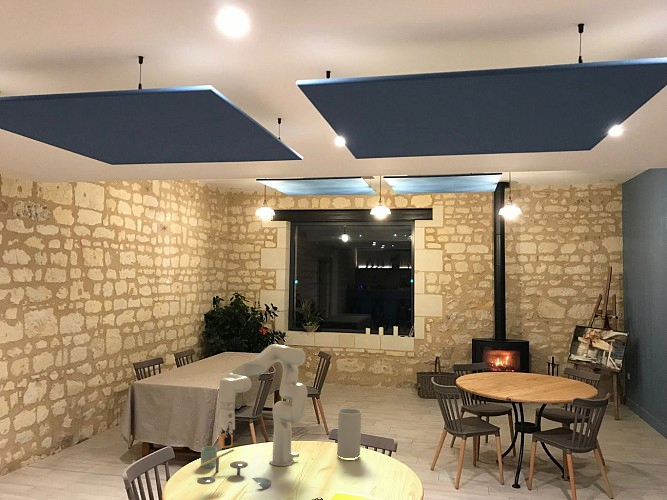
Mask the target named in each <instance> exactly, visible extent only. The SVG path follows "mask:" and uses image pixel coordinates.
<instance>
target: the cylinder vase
mask: <svg viewBox="0 0 667 500" xmlns="http://www.w3.org/2000/svg"><path fill="white" fill-rule="evenodd" d="M337 419H338V422H337V444H336V445H337V452H336V456H337V455H338V456H340V457H343V458H355V457H358V456H359V455H360V456H361V438H362V437H361V433H362V430H361V429H362V425H361V424H362V411H361V410H360V409H357V408H351V407H346V408H345V407H344V408H340V409H338V418H337Z"/></svg>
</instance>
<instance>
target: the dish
mask: <svg viewBox="0 0 667 500" xmlns="http://www.w3.org/2000/svg"><path fill="white" fill-rule="evenodd" d="M251 479H252V481H254V482H255V483H256V484H257V485H258V486H260V487H261V488H257V489H256V491H262V490H266V489H269V488H271V484H272V482H271V480H270V479H268V478H266V477H259V476H258V477H253V478H251Z"/></svg>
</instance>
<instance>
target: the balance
mask: <svg viewBox="0 0 667 500" xmlns="http://www.w3.org/2000/svg"><path fill="white" fill-rule="evenodd" d="M232 452H235V449H234V448H232V449H230V450H228V451H226V452H224V453H222V454H219V455H217V457H215V458H213V459H211V460H209V461H207V462H205V463H202V464H201V463H200V466H201V467H202V466H203V465H205V464H207V463H209V462H211V461H214V460H216V465H215V473H216V474H217V473H219V467H220V466H219V465H220V459H221V458H222V457H224V456H227V455H228V454H230V453H232ZM248 465H249V463H248V462H246V461H241V460H238V461H233V462H231V463H229V467H231V468H232V469H236V476H241V469H246V468H247V467H248ZM196 482H197V483H198V484H200V485H209V484H213V483H215V482H216V478H214V477H211V476H205V477H199V478H198V479H197V480H196Z"/></svg>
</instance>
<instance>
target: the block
mask: <svg viewBox="0 0 667 500" xmlns="http://www.w3.org/2000/svg"><path fill="white" fill-rule="evenodd" d="M233 437H234V436H233V435H232V437H231V445H229V446H224V438H225V433H224V434H222V433H219V434H218V446H219V447H220V448H221V449H225V448H231V447H233V443H234V442H233V440H234V439H233Z"/></svg>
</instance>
